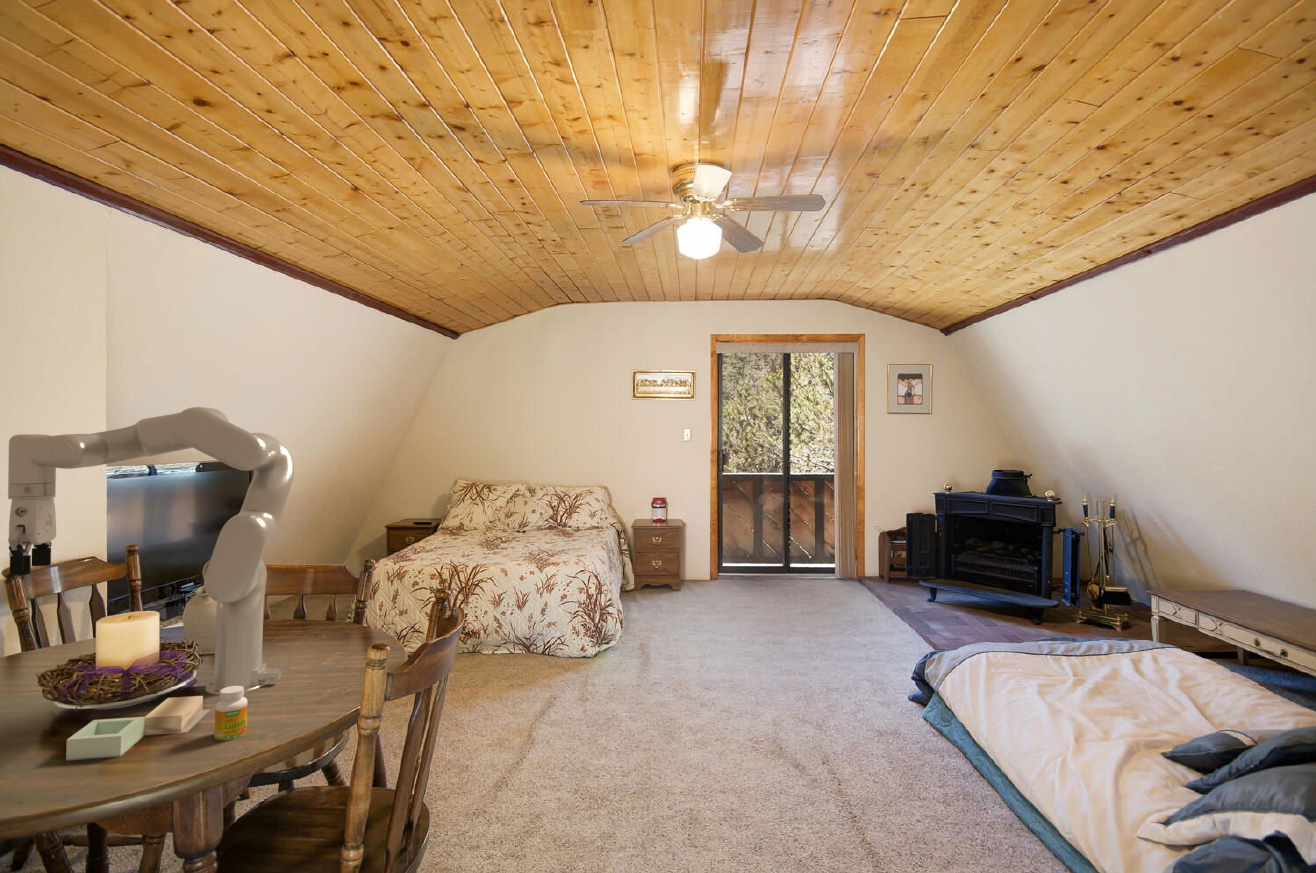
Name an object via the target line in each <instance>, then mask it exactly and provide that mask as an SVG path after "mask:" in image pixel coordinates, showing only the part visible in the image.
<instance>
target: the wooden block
mask: <svg viewBox="0 0 1316 873" xmlns="http://www.w3.org/2000/svg"><path fill="white" fill-rule="evenodd" d="M203 706H204V695H193V696H178V697H177V696H175V697H167V698H166V699H165V700H163V701H162V702H161V703H159V705H157V706H156V707H155V708H154V709H153V710H151V711H150V712H149V713H148V714H146V715H145V716H143V717H144V734H152V733H166V732H181V731H182V730H183V729H184V728H185V727H186V726H187V725H188V724H190V723H191V722H192V721H193V720H194V719H195V718H196V717H197V716H198V715H199V714H200V713H201V712H202V711H203V710H204V709H203V708H204V707H203Z"/></svg>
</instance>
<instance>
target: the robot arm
mask: <svg viewBox="0 0 1316 873" xmlns="http://www.w3.org/2000/svg"><path fill="white" fill-rule="evenodd" d="M189 449H195V450H196V451H198V452H201V453H202V454H204V455H206V456H209V457H211V458H212V459H215V460H217V461H219V462H221V463H222V464H225V465H227V466H229V467H231V468H233V469H237V470H240V471H245V472H246V471H247V472H248V471H249V472H250V471H253V476H252V479H251V482H250V483H249V485H248V488H247V491H246V494H245V498H244V500H243V503H242V505H241V508H240V510H239V513H238V514H236V515H234V516H232V517H231V518H229V519H228V520H227V521H226V522H225V524H224V525H223V526H222V528H221V530H220V531H219V532H220V533H219V535H218V537H217V540H216V543H215V546H214V548H213V552H212V555H211V557H210V559H209V560H210V563H209V566H208V569H207V572H206V575H205V579H204V578H203V582H204V583H203V586H204V587H205V590H206V592H207V594H208V595H209V597H210V598H211V599H213V600H214V601H217V607H216V626H215V654H214V662H213V663H214V669H213V670H214V671H213V672H214V673H213V680H212V681H211V682H209V683H208V684H207V685H206V686H205V692H206V693H208V694H209V695H210V694H211V695H216V696H220V691H221V690H222V689H223V688H226V687H230V686H242V687H244V693H249V692H252V691H255V690H257V689H260V688H263V687H264V686H266V685H267V684H268V683H270V680H271V681H273V680H280V679H281V677H282V670H279V668H270V669H269V668H268V667H267V663H266V662H263V634H264V633H263V628H264V612H265V611H264V608H265V606H264V605H265V594H266V587H267V579H268V578H267V576H268V574H267V566H266V564H265V561H264V560H263V559H262V558H263V555H264V552H265V550H266V547H268V546H269V545H270V544H271V543H273V541H274V540H275V539H276V536H277V534H278V530H279V527H280V524H281V521H282V518H283V517H282V516H283V514H284V511H285V507H286V505H287V501H288V497H289V495H290V491H291V488H292V484H293V481H294V475H295V474H294V473H295V465H294V460H293V458H292V455H291V453H290V451H289V449H287V447H286V446H285V445H284V444H283V443H282V442H281V441H280V440H279V439H277V438H276V437H274V436H272V435H270V434H267V433H264V432H263V433H262V432H250V431H248V430H245V429H244V428H241V427H239V426H237V425H235V424H233V423H231V422H230V421H229V419H228V417H227V416H226V414H225V413H223V412H222V411H221V410H219V409H216V408H213V407H204V406H202V407H201V406H195V407H189V408H186V409H184V410H182V411H181V412H177V413H171V414H166V415H165V414H164V415H159V416H153V417H148V418H147V417H146V418H144V419H140V420H138V421H137V422H136V423H133V425H129V426H126V427H121V428H117V429H112V430H106V431H105V430H104V431H101V432H100V431H99V432H93V433H70V434H68V433H67V434H66V433H65V434H58V435H50V434H34V433H33V434H15V435H13V436H11V437H10V438H9V440H8V467H7V468H8V471H7V472H8V478H7V479H8V484H7V499H8V500H11V502H10V503H11V504H10V510H9V522H8V539H7V540H8V544H9V546H8V550H9V553H8V556H9V575H10V576H23V575H25V576H26V575H29V574H31V569H32V567H48V566H50V565H51V564H52V541H53V540H55V539H56V537H57V519H56V516H57V515H56V504H55V499H54V498H56V490H57V487H56V480H57V476H56V475H57V469H64V470H65V469H66V470H68V469H69V470H70V469H71V470H72V469H73V470H74V469H81V468H91V467H92V468H93V467H98V466H102V465H107V464H112V463H117V462H122V461H128V460H133V459H137V458H143V457H145V458H146V457H147V458H148V457H153V456H158V455H159V456H160V455H163V454H168V453H173V452H178V451H184V450H189ZM32 546H33V548H32ZM30 552H31V554H30ZM29 554H30V555H29Z"/></svg>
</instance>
